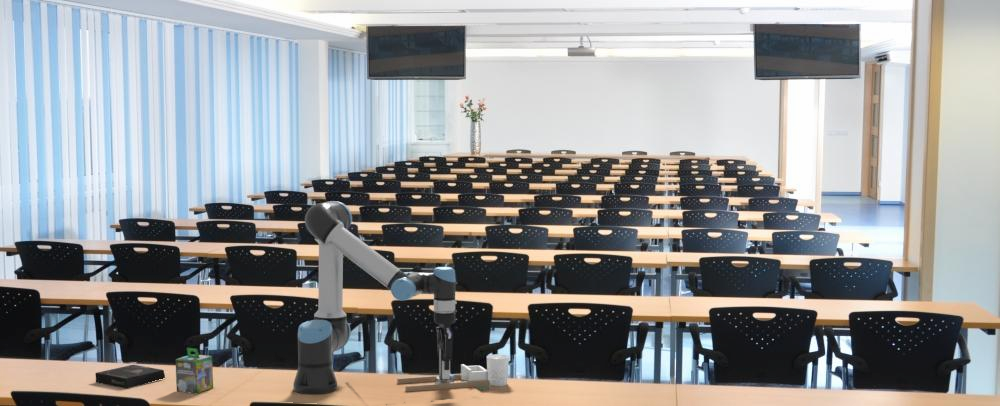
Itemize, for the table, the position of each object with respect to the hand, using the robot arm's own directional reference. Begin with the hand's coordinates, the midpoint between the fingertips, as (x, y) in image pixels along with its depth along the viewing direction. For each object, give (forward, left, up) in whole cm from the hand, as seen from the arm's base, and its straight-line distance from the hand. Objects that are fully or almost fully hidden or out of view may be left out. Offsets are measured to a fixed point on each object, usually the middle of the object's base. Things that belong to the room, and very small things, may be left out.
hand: (444, 377), depth 389 cm
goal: (+11, 0, -4) cm, 11 cm away
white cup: (+19, 0, -4) cm, 20 cm away
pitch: (-1, 0, -4) cm, 4 cm away
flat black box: (-105, +45, -4) cm, 114 cm away
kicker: (-1, 0, -2) cm, 2 cm away
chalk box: (-84, +24, -4) cm, 87 cm away
